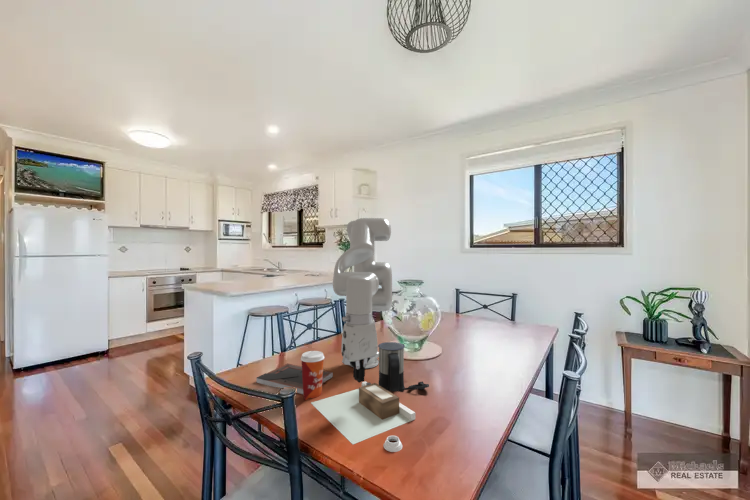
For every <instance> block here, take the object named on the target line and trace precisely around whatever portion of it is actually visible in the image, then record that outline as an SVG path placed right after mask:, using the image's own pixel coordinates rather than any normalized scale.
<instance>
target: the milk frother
mask: <svg viewBox="0 0 750 500" xmlns="http://www.w3.org/2000/svg"><path fill="white" fill-rule="evenodd" d="M404 348H405V345H404V344H403V343H400V342H395V341H393V342H391V341H389V342H382V343H379V344H378V352H379V357H378V362H379V363H378V385H379V386H381V387H383V388H384V389H386V390H388V391H389V392H397V393H398V392H400V393H402V392H404V391H409V390H410V391H411V390H412V391H414V390H419V391H424V390H425V389H426V388H427V389H428V388H429V387H430V384H429V383H424V381H418V382H417V384H411V385H409V386H408V387H405V379H404V378H405V376H404V375H405V374H404V372H405V371H404V370H405V369H404V364H405V362H404V361H405V357H404V354H405V352H404V350H405V349H404Z"/></svg>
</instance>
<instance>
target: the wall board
mask: <svg viewBox="0 0 750 500" xmlns="http://www.w3.org/2000/svg"><path fill="white" fill-rule="evenodd" d="M370 384H372V383H371V382H370V381H369V382H367V381H366V380H364V381H363V382H362V381H361V387H363V386H366V385H370ZM310 404H311V405H312V406H313V407H314V408H315V409H316V410H317V411H318V412H320V414H321V415H322V416H324V418H325V419H326V420H327V421H328V422H329V423H331V425H333V427H334V428H336V430H337V431H338V432H339V433H340V434H342V436H343V437H345V439H346V440H347V441H349V442H350V444H352V445H355V444H358V443H360V442H363V441H366V440H368V439H370V438H372V437H375V436H378V435H380V434H383V433H385V432H387V431H390V430H392V429H395V428H397V427H400V426H403V425H405V424H407V423H410V422H412V421H415V420H416V412H415V411H414V410H412V409H410V408H409V407H408V406H406V405H404V404H402V403H401V402H399V414H396V415H394V416H391V417H388V418H386V419H383V420H382V419H380V418H379V417H378V416H376V415H375V414H374V413H372V412H371V411H370V410H368V409H367V408H366V407H365V406H363V405H362V404H361V403H359V388H356V389H352V390H349V391H346V392H343V393H339V394H335V395H332V396H329V397H325V398H321V399H319V400H315V401H311V402H310Z"/></svg>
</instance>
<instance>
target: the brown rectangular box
mask: <svg viewBox="0 0 750 500" xmlns="http://www.w3.org/2000/svg"><path fill="white" fill-rule="evenodd" d="M358 389H359V403H361V404H362V405H363V406H365V407H366V408H367V409H368V410H370V411H371V412H372V413H374V414H375V415H376V416H378V417H379V418H380V419H382V420H383V419H386V418H388V417H391V416H394V415H396V414H399V403H400V397H399V396H397V395H396V394H394V393H392V391H390V390H386V389H384V388H383V387H381V386H379V383H378V384H377V383H376V382H373V383H371V384H370V385H366V386H363V387H362V386H359V387H358Z"/></svg>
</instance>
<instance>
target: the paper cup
mask: <svg viewBox="0 0 750 500" xmlns="http://www.w3.org/2000/svg"><path fill="white" fill-rule="evenodd" d="M324 360H325V355H324V353H323V351H320V350H310V351H309V350H308V351H305V352H303V353H302V354H301V357H300V361H301V366H302V379H303V394H302V396H303V400H304V401H307V400H309V399H314V398H318V397H319V396H321V395H322V394H323V393H322V391H323V383H322V378H323V371H324V363H325V362H324Z"/></svg>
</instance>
